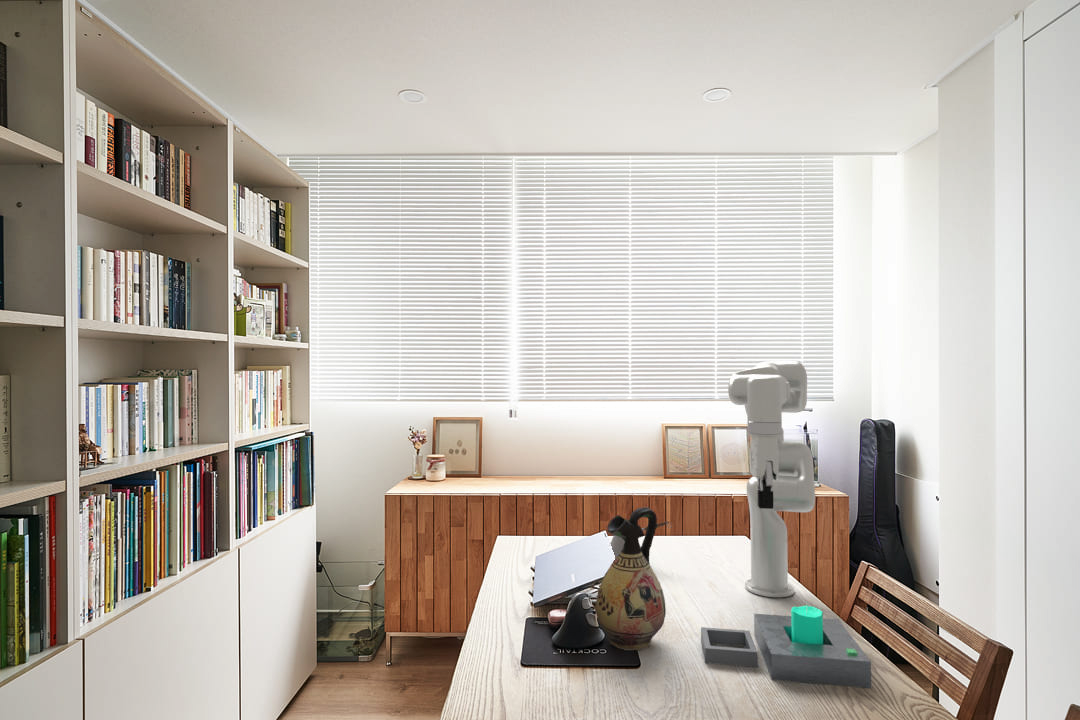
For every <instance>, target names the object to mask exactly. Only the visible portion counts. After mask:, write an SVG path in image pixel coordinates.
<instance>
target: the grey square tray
mask: <svg viewBox="0 0 1080 720" xmlns="http://www.w3.org/2000/svg"><path fill="white" fill-rule="evenodd" d="M700 642H701V643H700V644H701V648H702V652H703V659H704V663H706V664H717V665H730V666H738V667H740V666H742V667H754V668H758V666H759V665H758V664H759V662H758V661H759V660H758V659H759V657H758V656H759V655H758V653H759V652H758V650H757V647H756V645H755V641H754V638H753V636H752V634H751V632H750V630H745V629H732V628H729V629H728V628H717V627H703V626H701V627H700ZM715 645H716V646H715ZM717 645H721V646H717ZM722 645H723V646H722ZM730 646H733V647H730ZM734 646H736V647H734ZM740 647H744V648H740Z"/></svg>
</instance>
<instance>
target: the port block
mask: <svg viewBox="0 0 1080 720" xmlns="http://www.w3.org/2000/svg"><path fill="white" fill-rule="evenodd" d="M753 621H754V622H753V629H754V631H753V633H754V635H753V636H754V639H755V640H756V644H757V646H758V649H759V651H760V653H761V656H762V658H763V661H764V663H765V664H764V665H765V666H766V669H767V671H768V674H769V676H770V678H771V680H772V681H783V682H794V683H808V684H818V685H828V686H829V685H830V686H840V687H852V688H862V689H863V688H864V689H865V688H867V689H872V661H871V660H870V659H869V657H868V656H867V654H866V653H865V652H864V651H863V649H862V648H861V647H860V645H859V644H858V642H857V641H856V640H855V639H854V638H853V636H852V634H850V632H849V631H848V629H847V628H846V627H845V626H844V624H843V623H842V622H841V621H840V619H839V618H827V617H825V618H824V617H823V645H820V644H807V643H793V642H792V627H791V615H783V614H781V615H780V614H767V613H765V614H764V613H753Z"/></svg>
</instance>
